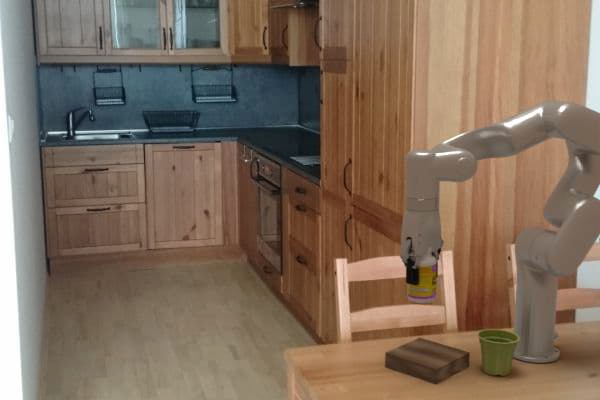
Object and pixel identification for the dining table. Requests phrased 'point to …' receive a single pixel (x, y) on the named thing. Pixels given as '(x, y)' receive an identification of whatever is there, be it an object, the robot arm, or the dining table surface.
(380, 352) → the dining table surface
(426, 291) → the supplement bottle
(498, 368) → the plant pot
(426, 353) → the brown wooden square slab
